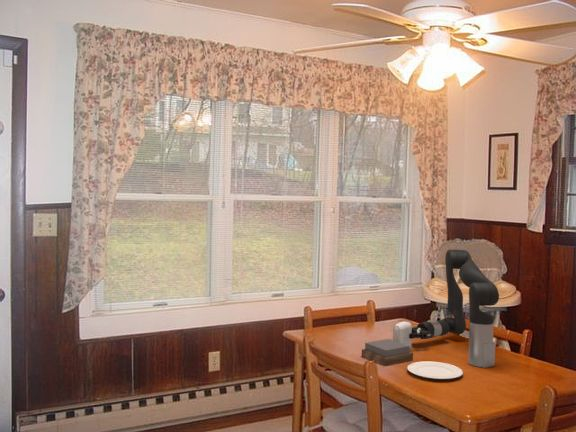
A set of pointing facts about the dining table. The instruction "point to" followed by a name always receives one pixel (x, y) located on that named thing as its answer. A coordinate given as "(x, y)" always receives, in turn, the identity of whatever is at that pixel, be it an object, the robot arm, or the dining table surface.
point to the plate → (434, 370)
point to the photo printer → (402, 333)
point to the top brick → (387, 348)
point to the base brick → (387, 360)
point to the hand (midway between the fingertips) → (402, 334)
